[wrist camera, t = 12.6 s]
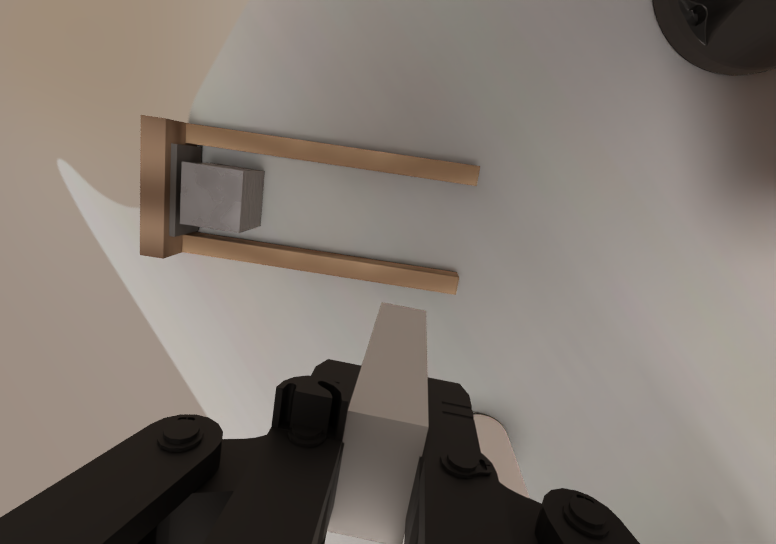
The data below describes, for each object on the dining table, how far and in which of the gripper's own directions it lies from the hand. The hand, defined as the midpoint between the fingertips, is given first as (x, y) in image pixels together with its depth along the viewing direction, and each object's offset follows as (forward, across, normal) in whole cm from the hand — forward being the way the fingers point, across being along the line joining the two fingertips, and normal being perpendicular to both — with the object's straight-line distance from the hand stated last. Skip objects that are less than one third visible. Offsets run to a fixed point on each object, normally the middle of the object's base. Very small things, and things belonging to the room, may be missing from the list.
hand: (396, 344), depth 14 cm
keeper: (+25, -17, +1) cm, 30 cm away
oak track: (+25, -8, +1) cm, 27 cm away
